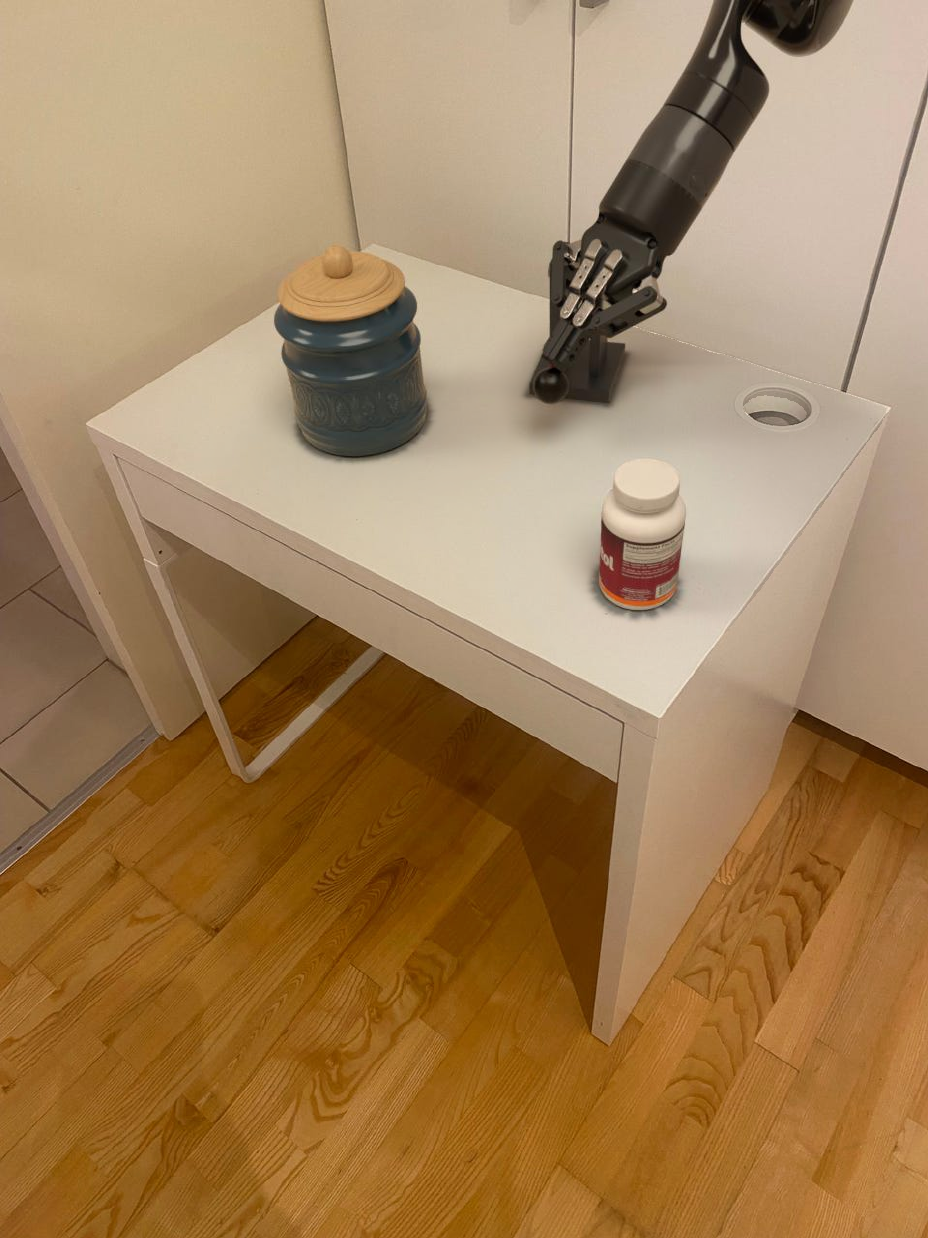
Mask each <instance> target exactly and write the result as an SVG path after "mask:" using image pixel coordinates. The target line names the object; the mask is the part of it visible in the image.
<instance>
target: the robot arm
mask: <svg viewBox="0 0 928 1238" xmlns="http://www.w3.org/2000/svg"><path fill="white" fill-rule="evenodd" d="M853 3H854V0H713V1H712V5H711V7H710V10H709V14H708V17H707V20H706V23H705V25H704V27H703V30H702V33H701V35H700V37H699V40H698V42H697V44H696V47H695V48H694V52H693V53H692V55H691V58H690V59H689V60H688V63H687V65H686V66H685V68H684V70H683V72H682V73H681V75H680V76H679V78H678V80H677V81H676V83H675V85H674V86H673V88H672V89H671V91H670V93H669V94H668V96H667V98H666V99H665V101H664V102H663V105H662V106H661V107H660V109H659V111H658V112H657V113H656V115H655V116H654V117H653V119H652V120H651V121H650V122H649V124H648V125H647V126H646V128H645V129H644V130H643V132H642V133H641V135H640V137H639V138H638V139H637V142H636V143H635V145H634V146H633V148H632V150H631V151H630V154H629V155H628V156H627V158H626V160H625V161H624V162H623V164H622V166H621V168H620V170H619V171H618V173H617V174H616V176H615V178H614V179H613V181H612V183H611V185H610V186H609V188H608V189H607V191H606V193H605V194H604V196H603V198H602V199H601V201H600V202H599V205H598V217H597V219H596V220H595V222H594V223H593V224H592V225H591V226H589V227H588V228H587V229H586V230H585V231H584V232H583V234H582V235H581V239H578V240H576V241H573V242H570V244H565V243H564V242H565V241H563V240H557V241H555V243H554V244H553V246H552V251H551V253H552V255H551V259H552V280H551V302H552V304H554V305H555V306H556V307H557V308H558V310H559V312H560V320H559V322H558V324H557V325H556V327H555V328H554V330H553V332H552V333H551V336H550V335H549V337H548V339H547V340H546V341H545V343H544V344H543V349H542V354H541V356H542V359H543V360H544V361H546V362H547V363H549V364H550V365H552V366H553V367H555V368H556V369H558V370H560V371H561V372H564V371H565V370H566V369H567V368H570V367H571V366H572V365H573V364H574V363H575V361H576V360H577V358H578V356H579V355H580V353H581V352H582V350H583V348H584V347H585V345H586V344H587V342H588V340H590V338H591V337H593V336H595V335H601V336H606V337H607V338H608V339H611V338H615V337H616V336H617V335H620V334H621V333H623V332H625V331H627V330H629V329H631V328H633V327H635V326H636V325H639V324H641V323H642V322H644V321H647V320H648V319H650V318H652V317H654V316H655V315H657V314H659V313H661V312H663V311H665V310H666V308H667V306H668V300H667V298H665V297H664V296H663V295H662V294H661V293H660V287H659V284H658V279H659V278H660V276H661V274H662V271H663V265H664V263H665V260H666V258H667V257H669V256H672V255H673V254H675V252H676V251H677V249H678V247H679V246H680V244H681V243H682V241H683V240H684V238H685V236H686V235H687V233H688V232H689V230H690V228H691V227H692V225H693V224H694V222H695V221H696V219H697V218H698V216H699V215H700V213H701V212H702V210H703V208H704V207H705V205H706V203H708V200H709V199H710V197H711V196H712V195H713V193H714V191H715V190H716V188H717V186H718V184H719V182H720V181H721V179H722V177H723V175H724V173H725V170H726V168H727V167H728V165H729V163H730V160H731V159H732V157H733V156H734V153H735V152H736V150H737V149H738V147H739V146H740V144H741V142H742V141H743V139H744V138H745V136H746V135H747V133H748V132H749V130H750V129H751V127H752V125H753V124H754V122H755V121H756V119H757V117H758V116H759V114H760V113H761V111H762V110H763V108H764V106H765V104H766V102H767V100H768V98H769V95H770V82H769V80H768V77H767V76H766V74H765V72H764V71H763V69H762V68H761V67H760V66H759V64H758V63H757V62H756V61H755V59H754V58H753V56H752V55H751V54H750V52H749V51H748V49H747V48H746V46H745V43H744V42H743V39H742V37H743V36H742V24H744V26H746V27H747V28H749V29H750V30H751V31H753V32H754V33H756V34H757V35H758V36H760V37H761V38H763V39H764V40H765V41H766V42H768V43H769V44H771V45H772V46H773V47H774V48H776V49H778V50H779V51H780V52H781V53H783V54H784V55H787V56H790V57H794V58H803V57H804V58H805V57H809V56H811V55H815V54H816V53H818V52H819V51H821V50H823V49H824V48H825V47H826V46H827V45H828V44H829V43H830V42H831V41H832V40H833V39H834V37H836V35H837V33H838V32H839V30H840V29H841V27H842V25H843V24H844V22H845V20H846V18H847V16H848V14H849V12H850V10H851V8H852V6H853ZM587 286H588V287H589V289H588V288H587ZM605 296H606V297H607V298H608V299H607V300H605V299H604V297H605ZM596 309H597V310H596ZM595 311H596V312H595ZM594 312H595V313H594ZM593 313H594V314H593Z"/></svg>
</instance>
